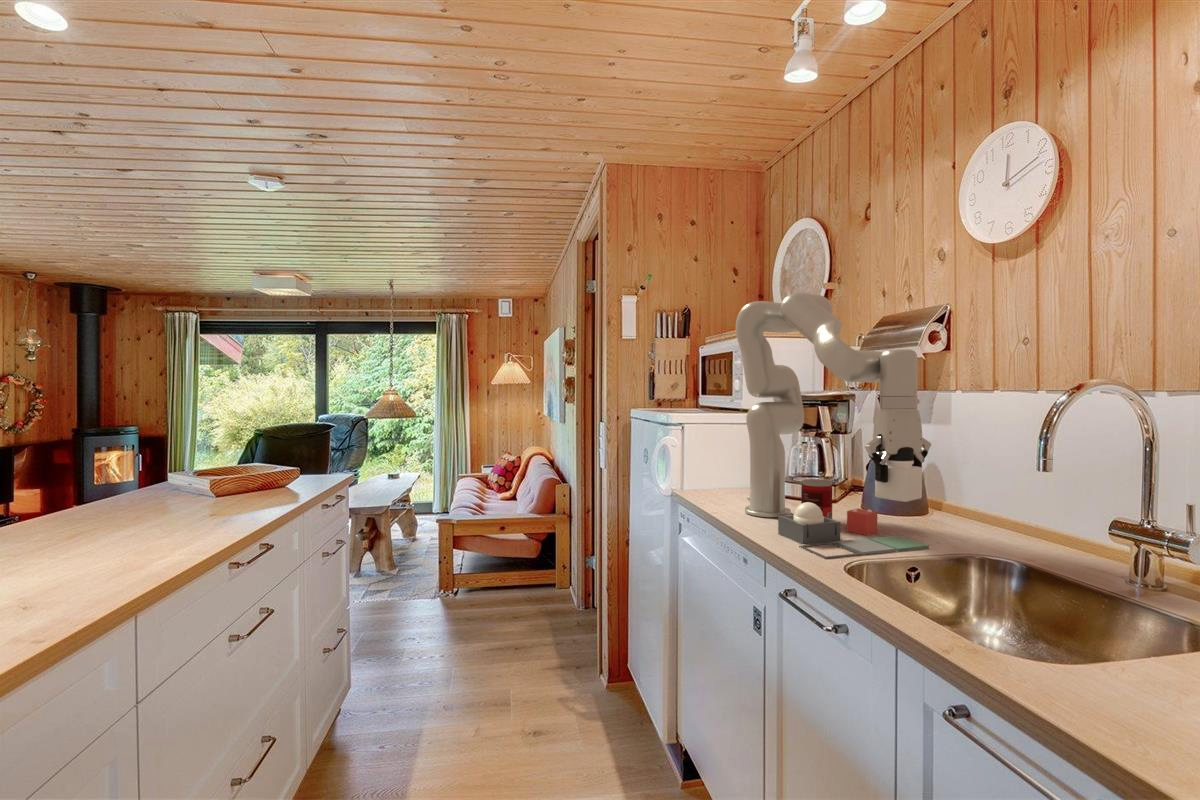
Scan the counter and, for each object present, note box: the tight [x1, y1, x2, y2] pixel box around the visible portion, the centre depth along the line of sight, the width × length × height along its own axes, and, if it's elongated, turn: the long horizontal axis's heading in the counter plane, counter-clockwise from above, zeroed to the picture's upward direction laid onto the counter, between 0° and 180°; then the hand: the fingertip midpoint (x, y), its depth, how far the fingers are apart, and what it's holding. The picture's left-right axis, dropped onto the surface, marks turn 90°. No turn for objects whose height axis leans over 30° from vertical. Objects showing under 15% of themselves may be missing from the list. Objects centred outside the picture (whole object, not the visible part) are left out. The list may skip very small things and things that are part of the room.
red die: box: [846, 507, 878, 536], centre depth 142 cm, size 5×5×6 cm
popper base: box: [777, 514, 841, 545], centre depth 137 cm, size 10×10×4 cm
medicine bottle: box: [874, 447, 923, 503], centre depth 130 cm, size 7×7×12 cm
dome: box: [793, 502, 824, 524], centre depth 137 cm, size 7×7×6 cm
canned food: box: [800, 478, 833, 519], centre depth 151 cm, size 8×8×11 cm
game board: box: [798, 534, 930, 560], centre depth 128 cm, size 9×27×1 cm, turn 105°
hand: (898, 480), depth 130 cm, fingers closed on medicine bottle, 8 cm apart
